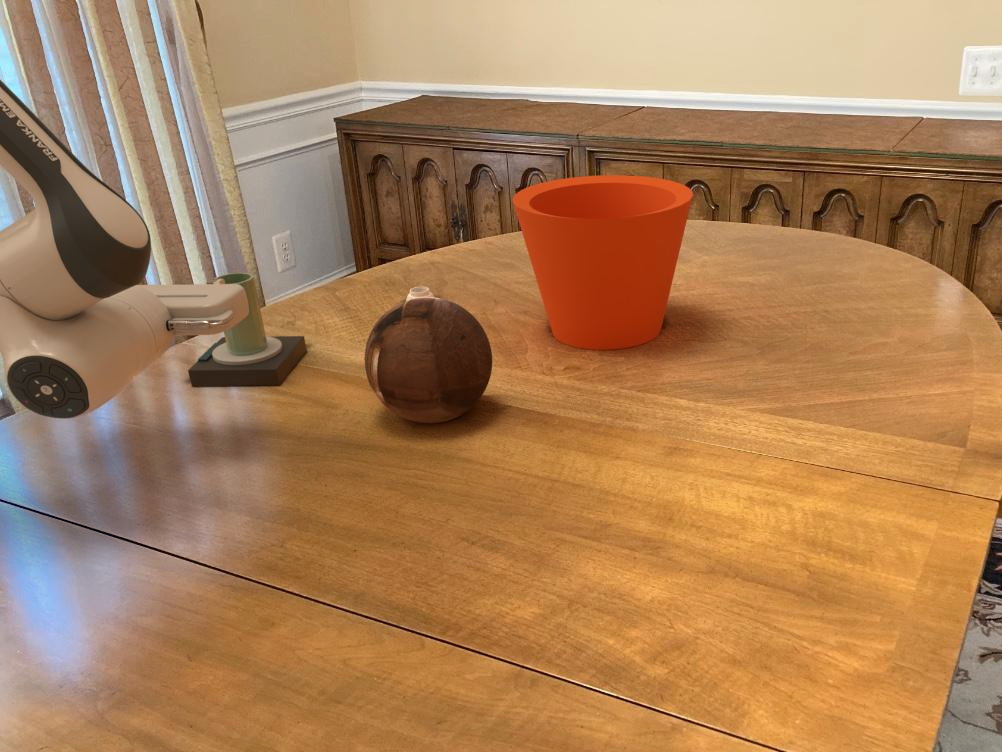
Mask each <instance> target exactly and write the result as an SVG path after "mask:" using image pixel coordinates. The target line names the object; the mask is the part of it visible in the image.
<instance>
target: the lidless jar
mask: <svg viewBox="0 0 1002 752" xmlns="http://www.w3.org/2000/svg"><path fill="white" fill-rule="evenodd" d="M420 297H435V295H434V294H433V292H432V291H430V287H428V286H414V287H412V288H410V289H409V293H408V294H407V296H406V299H405V301H407V300H410V299H414V298H420Z"/></svg>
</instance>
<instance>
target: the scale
mask: <svg viewBox="0 0 1002 752" xmlns="http://www.w3.org/2000/svg"><path fill="white" fill-rule="evenodd" d="M266 339H267V344H268V346H267V348H266V349H265V350H263V351H261V352H259V353H256V354H252V355H244V356H237V355H232V354H230V353H229V352H228V348H227V344H226V340H225V336H222V337H220V339H218V341H216V342H215V343H213V344H212V345H211V346H210V347H209V348H208V349H207V350H206V351H205V352H204V353H203V354H202V355H201V356H200V357H199V358H197V361H196V362H195V363H194V364H193V365H192V366H191V367H189V369H188V370H187V372H188V377H189V380H190V384H191V387H254V386H255V387H260V386H261V387H265V386H266V387H267V386H269V387H271V386H280V385H281V384H282V383H283V381H284V380H285V379H286V378H287V377H288V375H290V373H291V372H292V370H293V369H295V367H296V365H298V363H299V362H300V360H302V359H303V357H304V356H305V354H306V353H307V351H308V350H307V345H306V339H305V336H304V335H284V336H283V335H282V336H274V335H273V336H266Z"/></svg>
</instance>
